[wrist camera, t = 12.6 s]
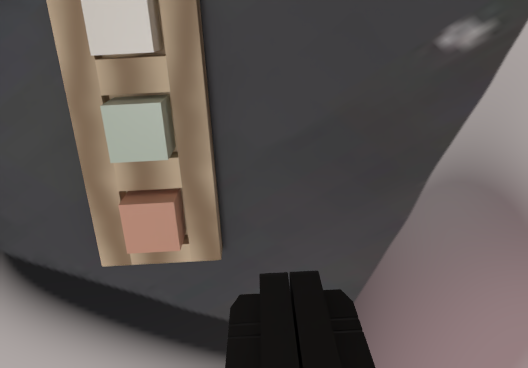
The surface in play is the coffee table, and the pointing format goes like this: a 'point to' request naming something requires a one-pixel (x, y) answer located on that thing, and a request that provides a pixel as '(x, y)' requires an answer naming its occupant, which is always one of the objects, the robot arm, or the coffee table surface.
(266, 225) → the coffee table surface
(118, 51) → the cream button
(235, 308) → the robot arm
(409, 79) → the coffee table surface
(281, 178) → the coffee table surface
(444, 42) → the coffee table surface
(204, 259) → the wooden slotted tray
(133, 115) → the sage button
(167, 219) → the terracotta button
